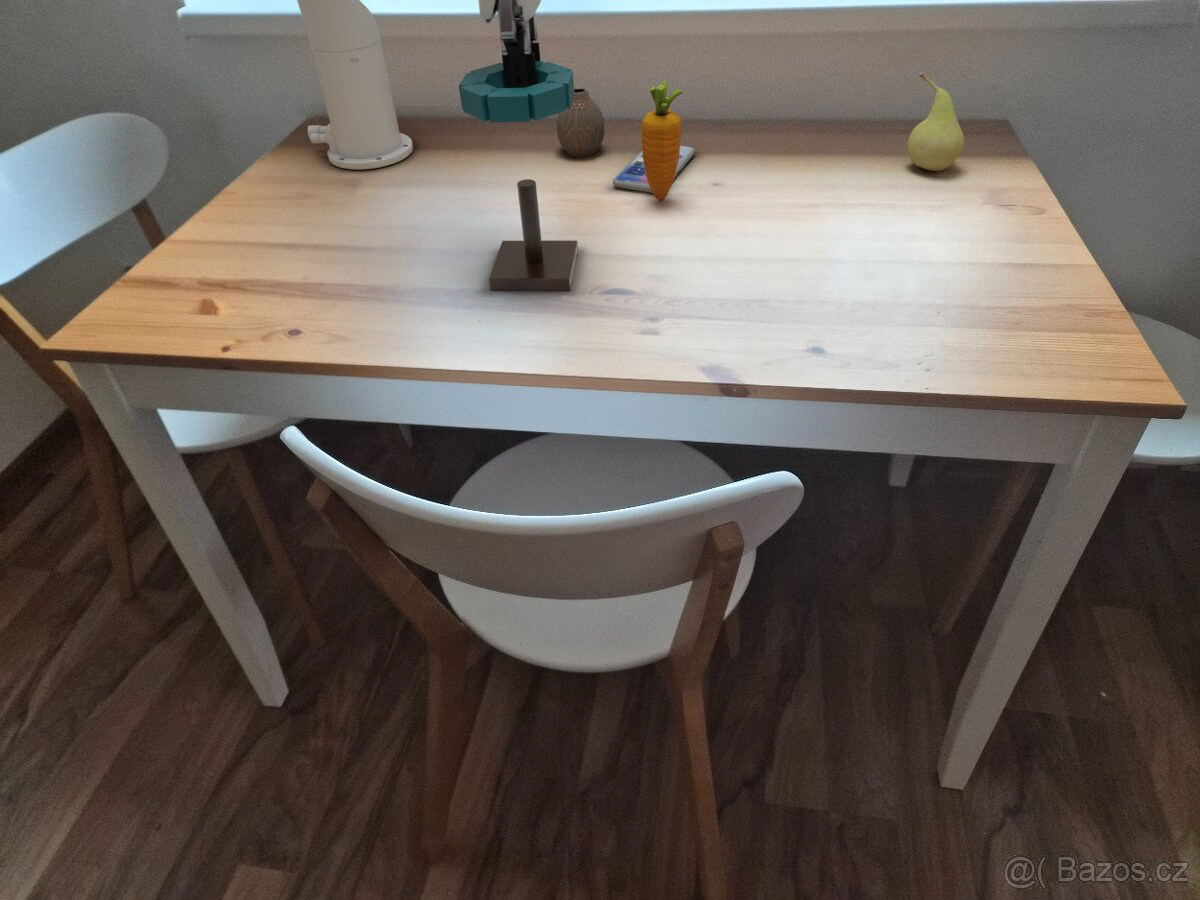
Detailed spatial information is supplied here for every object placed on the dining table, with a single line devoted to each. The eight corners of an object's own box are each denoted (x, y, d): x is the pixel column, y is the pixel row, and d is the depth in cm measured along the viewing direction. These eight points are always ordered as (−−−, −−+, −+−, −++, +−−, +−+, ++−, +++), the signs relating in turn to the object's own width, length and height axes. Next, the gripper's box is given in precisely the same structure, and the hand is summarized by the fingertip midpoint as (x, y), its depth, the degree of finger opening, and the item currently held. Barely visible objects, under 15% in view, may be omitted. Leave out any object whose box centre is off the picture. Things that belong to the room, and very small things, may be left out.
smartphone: (697, 147, 116) (661, 189, 106) (697, 153, 117) (661, 196, 107) (649, 140, 118) (609, 180, 108) (649, 146, 119) (609, 187, 109)
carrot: (656, 190, 108) (657, 72, 98) (687, 199, 106) (691, 79, 96) (633, 204, 105) (632, 83, 95) (664, 213, 103) (666, 91, 93)
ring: (454, 123, 77) (450, 97, 76) (477, 86, 85) (473, 62, 84) (566, 121, 76) (564, 95, 75) (578, 84, 84) (576, 59, 83)
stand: (490, 290, 90) (477, 201, 83) (503, 251, 97) (492, 166, 90) (570, 290, 90) (563, 200, 83) (578, 251, 96) (572, 165, 89)
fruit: (949, 183, 106) (973, 88, 98) (892, 172, 109) (911, 79, 101) (962, 164, 110) (986, 72, 102) (907, 155, 113) (926, 64, 105)
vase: (607, 143, 121) (605, 81, 115) (602, 161, 116) (600, 98, 110) (562, 143, 122) (557, 82, 116) (555, 161, 117) (550, 98, 111)
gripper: (478, -136, 78) (502, 66, 90) (441, -112, 66) (474, 118, 78) (555, -139, 77) (569, 65, 90) (531, -116, 65) (550, 116, 78)
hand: (524, 88), depth 84 cm, fingers closed on ring, 2 cm apart
